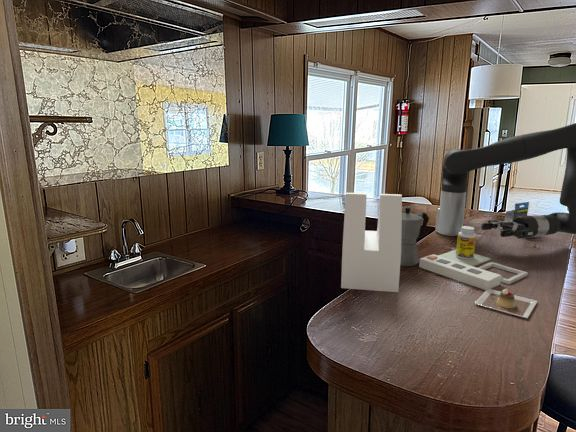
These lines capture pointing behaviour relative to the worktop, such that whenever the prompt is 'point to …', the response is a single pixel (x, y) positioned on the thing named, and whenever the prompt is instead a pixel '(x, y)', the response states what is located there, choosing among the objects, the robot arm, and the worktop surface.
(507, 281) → the white square frame
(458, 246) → the supplement bottle
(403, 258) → the coffeepot
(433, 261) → the power strip
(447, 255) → the mat
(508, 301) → the dessert
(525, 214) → the label tape box
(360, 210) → the white slotted block
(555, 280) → the worktop surface
